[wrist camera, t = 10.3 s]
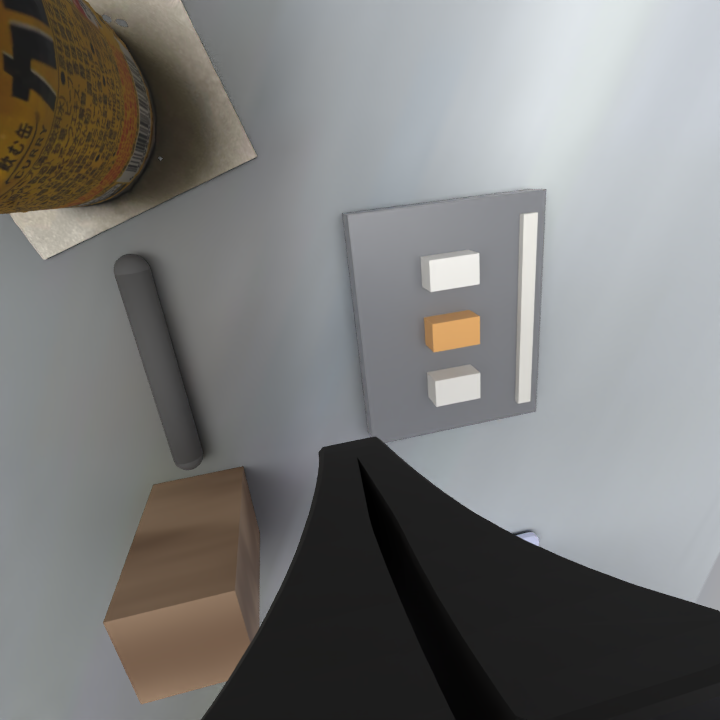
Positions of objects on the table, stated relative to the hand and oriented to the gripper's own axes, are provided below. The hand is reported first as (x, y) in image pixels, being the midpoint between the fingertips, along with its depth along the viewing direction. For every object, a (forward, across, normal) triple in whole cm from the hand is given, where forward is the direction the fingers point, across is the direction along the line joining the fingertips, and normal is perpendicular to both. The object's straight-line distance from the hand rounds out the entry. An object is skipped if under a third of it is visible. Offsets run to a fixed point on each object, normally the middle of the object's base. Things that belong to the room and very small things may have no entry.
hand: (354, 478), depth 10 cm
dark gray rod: (+10, +6, 0) cm, 12 cm away
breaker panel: (+10, -6, 0) cm, 12 cm away
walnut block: (+10, +6, +8) cm, 14 cm away
